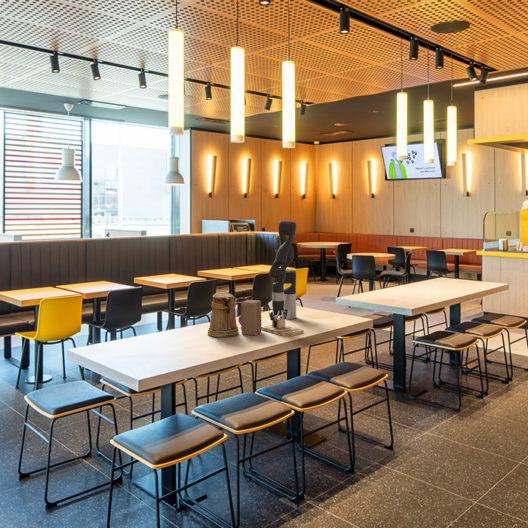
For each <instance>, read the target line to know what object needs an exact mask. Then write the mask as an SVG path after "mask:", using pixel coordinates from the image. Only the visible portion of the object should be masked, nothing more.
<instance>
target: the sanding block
mask: <svg viewBox="0 0 528 528" xmlns="http://www.w3.org/2000/svg"><path fill="white" fill-rule="evenodd" d="M271 321H272V320H271ZM271 323H272V324H271V325H272V327H274V326H273V321H272V322H271ZM285 325H286V319H282V318H280V317H278V318H277V327H274V328H278V329H282V328H285Z"/></svg>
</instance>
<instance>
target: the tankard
mask: <svg viewBox="0 0 528 528" xmlns="http://www.w3.org/2000/svg"><path fill="white" fill-rule="evenodd" d="M235 301H236V298H235V296H234V295H233V294H231V293H229V292H216V293H214V294H213V295H212V301H211V304H210V305H211V314H210V315H211V316H210V322H209V327H208V330H207V335H208V336H210V337H214V338H228V337H234V336H237V335H239V326H238V324H237V318H236V310H235V309H236V307H237V306H236V302H235Z"/></svg>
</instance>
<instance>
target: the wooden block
mask: <svg viewBox="0 0 528 528" xmlns="http://www.w3.org/2000/svg"><path fill="white" fill-rule="evenodd" d="M240 316H241V325H240V326H241V327H240V328H241V335H245V336H257V335H259V334H261V333H262V330H261V327H262V301H261V300H258V299H246V300H244V301H241V303H240Z"/></svg>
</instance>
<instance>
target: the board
mask: <svg viewBox="0 0 528 528" xmlns="http://www.w3.org/2000/svg"><path fill="white" fill-rule="evenodd" d="M261 331H264V332H268V333H270V332H271V334H274V333H276V334H275V335H278V334H280V335H279V336H282V335H283V336H282V337H285V336H288V337H292V335H293V336H297V335H301V333H302V334H304V333H305V331H304V329H302V328H297V327H294V326H289V325H286V324H285V328H282V329H278V328H274V327H272V324H270V325H264V326H261ZM296 334H297V335H296Z"/></svg>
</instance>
